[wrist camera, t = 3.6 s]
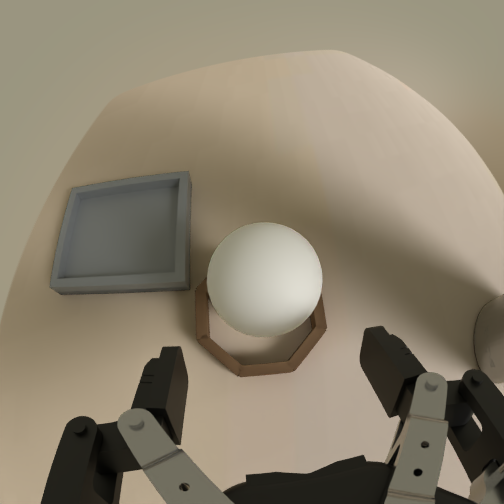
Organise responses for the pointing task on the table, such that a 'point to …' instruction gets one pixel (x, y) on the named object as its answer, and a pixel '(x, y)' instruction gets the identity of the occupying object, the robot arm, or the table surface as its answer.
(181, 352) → the robot arm
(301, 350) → the socket ring
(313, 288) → the lightbulb
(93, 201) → the tray
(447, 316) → the table surface
